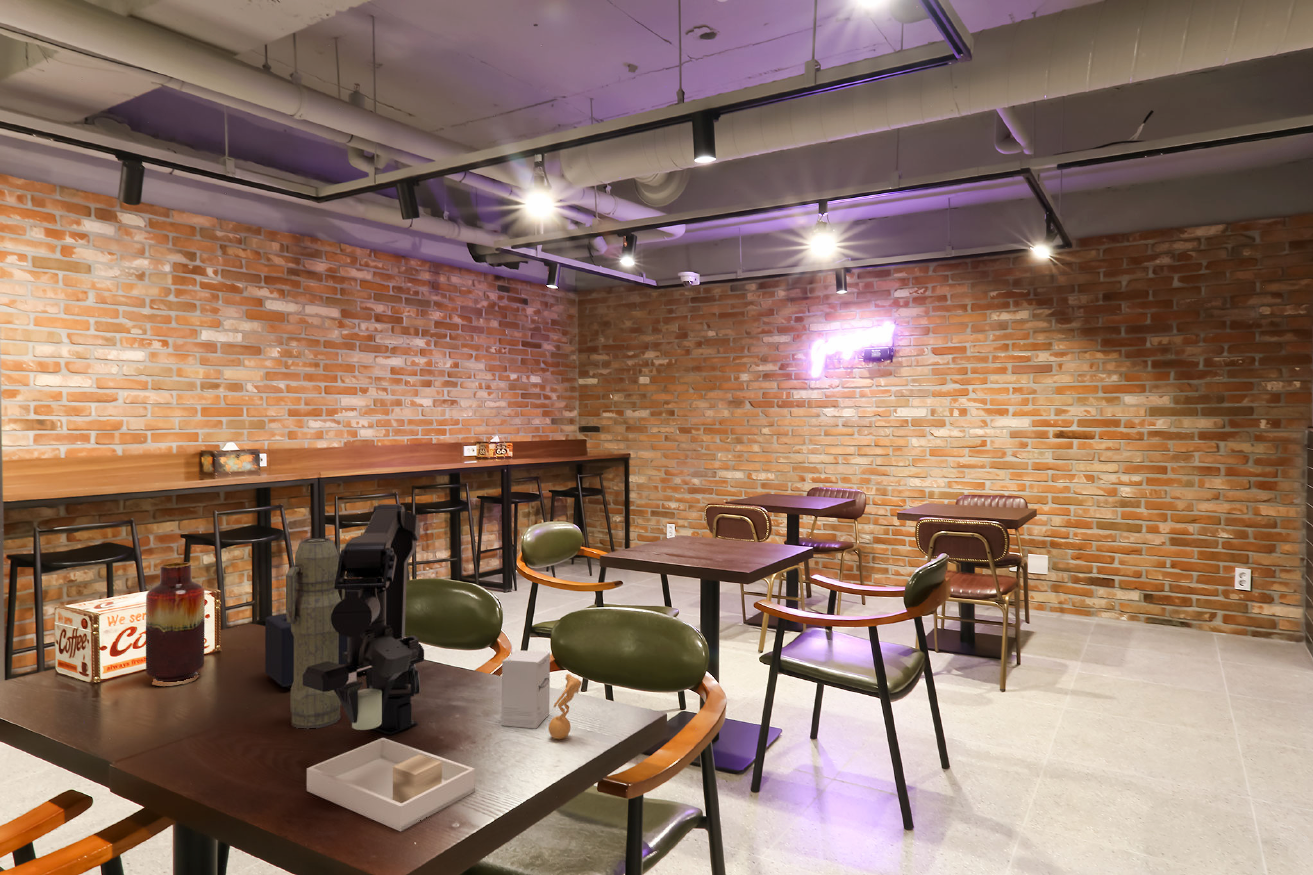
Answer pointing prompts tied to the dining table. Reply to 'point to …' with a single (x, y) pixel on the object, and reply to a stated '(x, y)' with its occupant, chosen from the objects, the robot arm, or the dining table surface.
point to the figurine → (561, 724)
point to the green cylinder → (369, 709)
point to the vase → (175, 625)
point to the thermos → (313, 628)
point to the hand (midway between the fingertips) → (366, 717)
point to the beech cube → (415, 777)
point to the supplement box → (525, 688)
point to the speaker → (286, 650)
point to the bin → (386, 783)
